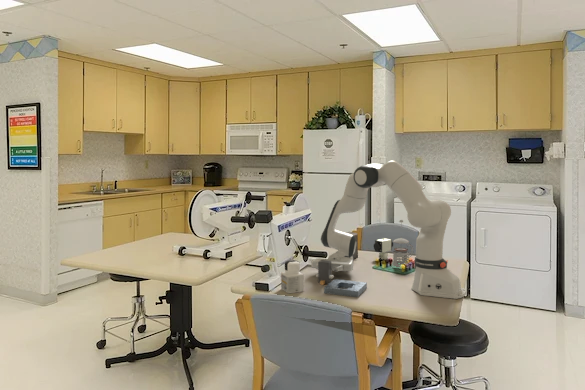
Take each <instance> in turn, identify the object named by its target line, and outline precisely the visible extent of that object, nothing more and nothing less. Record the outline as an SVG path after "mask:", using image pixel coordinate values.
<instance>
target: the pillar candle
mask: <svg viewBox="0 0 585 390" xmlns="http://www.w3.org/2000/svg"><path fill="white" fill-rule="evenodd" d="M345 233H348V234H351V235H354V236H355V237H356V240H357V249H356V252H355V254H354V255H353V260H354V259H358V258H359V257H358V256H359V251H358V250H359V246H358V245H359V243H358V240H359V239H358V238H359V237H358V233H357V232H353V231H352V232H351V231H348V232H347V231H346V232H345Z"/></svg>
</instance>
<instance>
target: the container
mask: <svg viewBox="0 0 585 390" xmlns="http://www.w3.org/2000/svg"><path fill="white" fill-rule="evenodd" d="M300 263H301V262H299V261H298V260H295V259H294V260H291V259H290V260H286V261H285V262H284V271H281V273H280V275H281V277H280V283H281V285H280V287H281V290H282V291H284V292H285V293H287V294H294V293H301V292H302V293H303V292H304V291H305V284H304V283H305V282H304V281H305V278H304V277H305V276H304V275H305V274H304V273H302V272H301V269H300V268H301V267H300V266H301V265H300Z"/></svg>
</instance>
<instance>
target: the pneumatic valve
mask: <svg viewBox="0 0 585 390" xmlns="http://www.w3.org/2000/svg"><path fill="white" fill-rule="evenodd" d="M393 247H394V242H393V239H391V238H386V237H382V238H379V239H375V240H374V243H373V250H374V252H376V253H378V259H379V258H381V259H380V260H383V259H385V260H388V257H389V254H388V252H391V251H392V250H393Z"/></svg>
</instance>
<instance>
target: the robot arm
mask: <svg viewBox="0 0 585 390" xmlns="http://www.w3.org/2000/svg"><path fill="white" fill-rule="evenodd" d="M382 186H387V187H388V188H389V189H390V190H391V192H392V193H393V194H395V196H396V197H397V198H398V199H399V200H400V202H401V203H402V205H403V207H404V209H405V210H406V212H407V214H406V215H407V217H406V218H407V220H408V222H409V224H410V225H411V226H413V227H415V228H418V229H419V228H420V230H419V233H418V236H417V237H416V238H415V239H416V240H415V257H414V262H413V263H414V265H413V266H414V277H413V281H412V282H413V283H412V286H411V290H412V291H414V292H416V293H417V294H418V295H420V296H425V297H435V298H445V299H456V300H457V299H461V298H463V297H465V296H466V295H467V290H466V289H465V288H464V287H462V284H461V283H462V282H461V279H460V278H459V276H458V275H456V274H455V273H454V272H453V271H451V270H450V268H448V261H449V260H448V259H447V260H446V259H444V258H443V249H444V248H443V246H444V238H445V233H446V228H447V224H448V221H449V219H450V217H451V215H452V209H451V206H450V204H448V202H447V201H445V200H440V199H431V200H429V199H428V198H427V196H426V195H425V192H424V191H423V186H422V184H421V183H420V182H419V181H418V180H417V179H416V178H415V177H414V176H413V175H412V173H411V172H410V171H409V170H407V169H406V167H404V165H402V164H400V163H399V162H397V160H396V161H395V160H389V161H387V162H385V163H383V162H382V163H369V164H364V165H360V166H359V167H357V168H356V169H355V170H354V172H352V173H350V175H349V177H348V179H347V182H346V184H345V188H344V191H343V195H342V197H341V198H340V199H338V200H336V202H335V203H334V205H333V207H332V210H331V212H330V213H329V214H330V215H329V217H328V220H327V221H326V225H325V227H324V230H323V231H322V233H321V236H320V242H321V244H322V245H323V247H324V248H330V249H334V250H336V251H335V252H333V253H331V254H330V255H329V256H328V257H327V258H314V259H313V260H311V263H310V264H311V268H312V269H316V270H318V262H319V261H320V260H328V261H331V272H332V271H333V272H335V273H336V272H337V273H338V272H352V271H353V270H354V259H353V255H354V254H355V252H356V249H357V240H356V237H355V236H354V235H351V234H348V233H345V232H344V231H341V230H338V229H336V224H337V222H338V219H339V218H340V215H342V214H348V213H349V214H350V213H355V212H359V211H360V210H362V209H363V208H364V206H365V203H366V201H367V196H368V195H367V194H368V190H369V189H370V188H378V187H382Z"/></svg>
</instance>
